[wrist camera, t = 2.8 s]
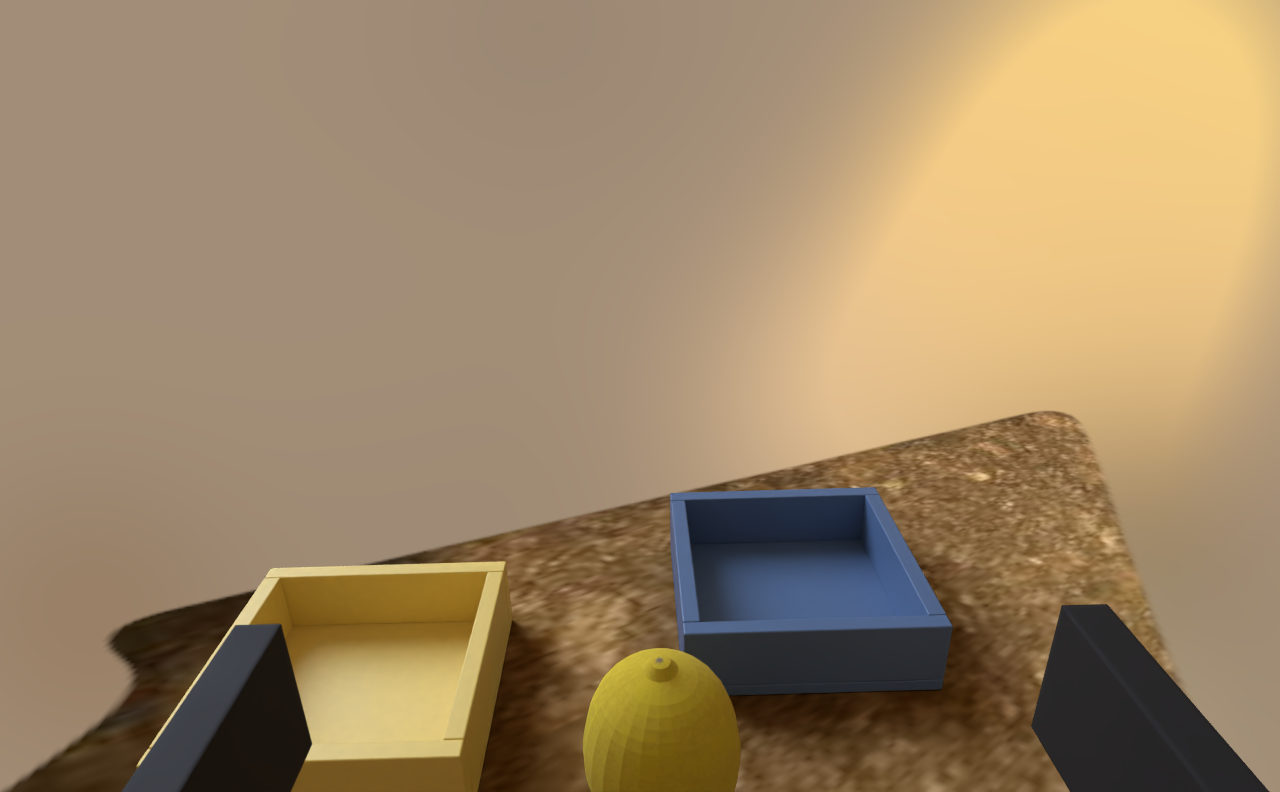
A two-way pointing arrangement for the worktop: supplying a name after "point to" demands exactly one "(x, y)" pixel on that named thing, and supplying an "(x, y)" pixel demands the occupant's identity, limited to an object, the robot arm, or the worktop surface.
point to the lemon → (661, 727)
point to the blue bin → (803, 593)
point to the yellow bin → (390, 670)
